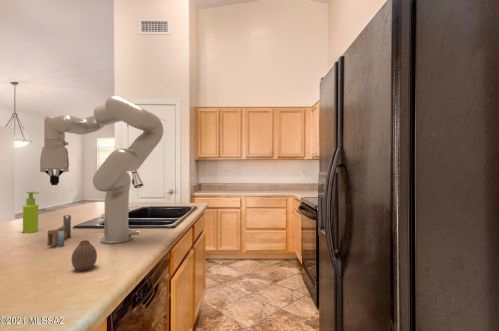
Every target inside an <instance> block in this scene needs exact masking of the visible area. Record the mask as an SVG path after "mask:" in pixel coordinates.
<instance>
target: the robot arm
mask: <svg viewBox="0 0 499 331" xmlns="http://www.w3.org/2000/svg"><path fill="white" fill-rule="evenodd" d="M118 122H119V123H120V122H123V123H125V124H127V125H129V126H130V127H133V128H135V129H136V130H137V129H138V130H140V131H143V132H142V133H141V134H139V136H137V137H136V138H135V140H133V142H132V143H131V144H130V145H129V147H128V148H118V149H116V150H113V151H112V152H111V153H110V154H109V155H108V157H106V158H105V159H104V161H103V162H102V164H101V165H100V166H99V167H98V169H97V170H96V171H95V173H94V175H93V177H92V184H93V187H94V189H96V190H97V191H99V192H103V193H105V192H106V193H105V196H104V222H103V223H104V229H103V230H104V232H103V233H104V236H103V237H101V238H100V239H99V240H100V243H102V244H107V245H110V244H111V245H113V244H120V243H125V242H128V241H131V240H132V239H133V236H139V235H140V230H137V229H134V230H132V229H131V228H130V227H129V204H130V202H129V201H130V200H129V199H130V198H129V197H130V195H129V194H130V188H131V176H130V174H129V172H134V171H137V170H138V169H139V168H140V167H141V166H142V165H143V163H144V162H145V161H146V160H147V158H148V157H149V156H150V155H151V153H153V151H154V149H155V148H156V147H157V146H158V145H159V143H160V142H161V141H162V138H163V134H164V125H163V123H162V121H161V119H160V118H159V117H158V115H156V114H154V113H152V112H150V111H148V110H146V109H144V108H142V107H140V106H138V105H136V104H135V103H133V102H132V101H130V100H128V99H126V98H125V97H123V96H120V95H113V96H110V97H108V98H107V99H106V101H105V102H104V104H103V105H100V106H95V108H94V110H93V115H91V116H88V117H84V118H81V117H78V116H74V115H69V114H62V115H58V116H54V115H50V116H49V115H48V116H46V117H44V122H43V123H44V125H43V126H44V127H43V128H44V131H43V133H44V138H43V139H44V141H43V143H44V145H43V146H42V148H41V152H40V157H39V158H40V159H39V160H40V161H39V167H40V169H39V172H41V173H45V174H47V175H48V176H49V184H51V186H57V185H58V184H59V183H60V176H61V175H62V174H63V173H67V172H70V169H69V167H70V160H69V151H68V148H67V147H66V146H69V141H66V139H65V138H66V136H65V134H66V133H67V134H68V133H69V134H74V135H87V134H91V133H95V132H98V131H99V130H102V129H103V128H104V127H105V126H109V125H112V124H115V123H118ZM54 170H55V174H54Z"/></svg>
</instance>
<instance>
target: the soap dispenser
mask: <svg viewBox="0 0 499 331" xmlns="http://www.w3.org/2000/svg"><path fill="white" fill-rule="evenodd" d="M39 193H40V192H38V191H27V192H26V194H28V197H27V198H26V200H25V202H26V204H25V205H23V206H22V233H23V234H32V233H33V234H34V233H37V232H38V231H39V204H36V198H35V197H34V195H38V194H39Z"/></svg>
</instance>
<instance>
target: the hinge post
mask: <svg viewBox="0 0 499 331" xmlns="http://www.w3.org/2000/svg"><path fill="white" fill-rule="evenodd" d="M71 222H72V216H71V214H69V215H68V214H67V215H66V214H65V215H63V223H62V224H63V225H62V226H64V225H67V237H66V238H65V239H70V238H72V237H71V236H72V229H71V228H72V226H71V224H72V223H71Z"/></svg>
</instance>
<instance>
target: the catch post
mask: <svg viewBox="0 0 499 331" xmlns="http://www.w3.org/2000/svg"><path fill="white" fill-rule="evenodd" d="M57 247H58V248H62V247H65V238H64V231H59V232H58V243H57Z"/></svg>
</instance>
